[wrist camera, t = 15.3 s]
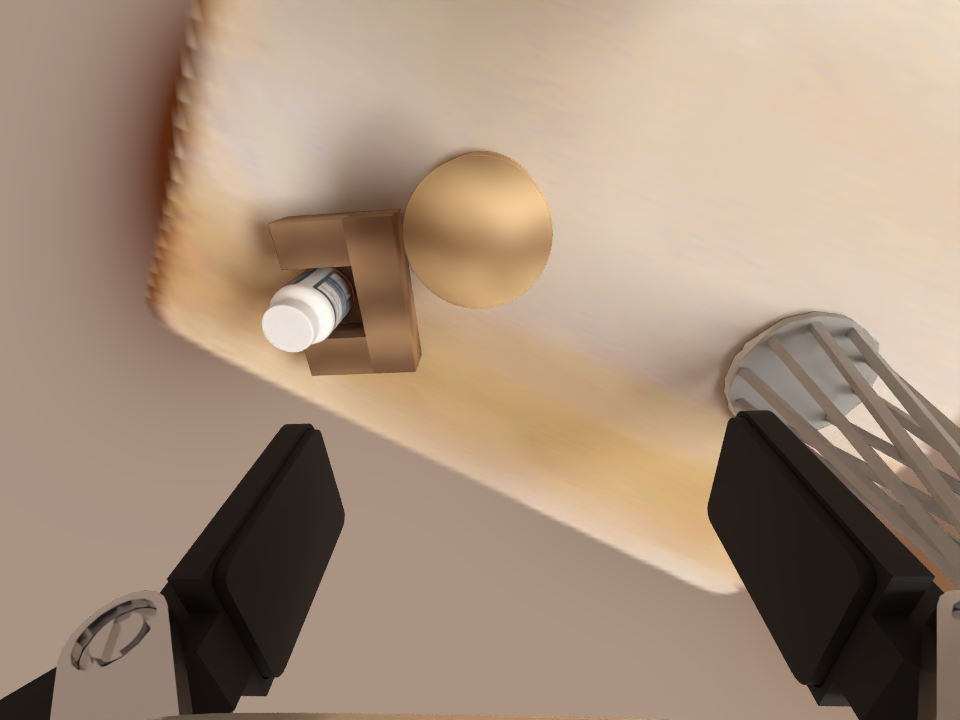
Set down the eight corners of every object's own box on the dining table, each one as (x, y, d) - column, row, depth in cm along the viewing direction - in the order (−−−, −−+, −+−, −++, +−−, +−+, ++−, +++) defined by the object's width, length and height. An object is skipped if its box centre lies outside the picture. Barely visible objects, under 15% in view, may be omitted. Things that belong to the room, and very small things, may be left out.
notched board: (287, 216, 37) (268, 223, 34) (400, 209, 37) (390, 216, 33) (325, 358, 44) (311, 375, 41) (421, 354, 43) (415, 371, 40)
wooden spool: (416, 155, 35) (391, 161, 27) (541, 146, 34) (553, 149, 26) (431, 276, 39) (413, 312, 31) (541, 270, 38) (551, 305, 31)
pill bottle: (299, 311, 41) (251, 351, 34) (300, 259, 39) (249, 289, 31) (353, 323, 42) (319, 366, 34) (358, 272, 39) (322, 305, 32)
